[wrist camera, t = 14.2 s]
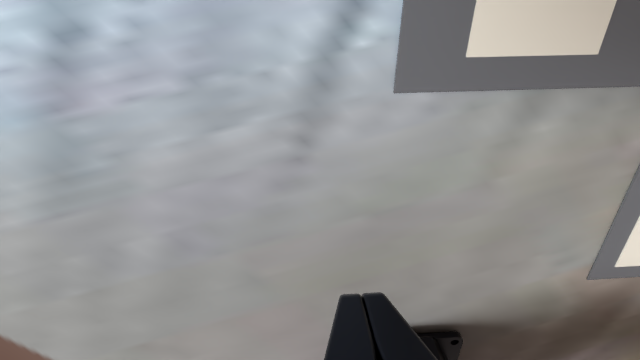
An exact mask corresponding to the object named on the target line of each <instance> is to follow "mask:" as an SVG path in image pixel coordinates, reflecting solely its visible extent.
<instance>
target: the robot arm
mask: <svg viewBox="0 0 640 360" xmlns="http://www.w3.org/2000/svg"><path fill="white" fill-rule="evenodd" d="M462 343H463V340H462V337H461V335H460V333H458V332H442V333H428V334H416V333H415V331H414V330H413V329H412V328H411V327H410V325H409V324H408V323H407V322H406V320H405V319H404V318H403V317H402V316H401V314H400V313H399V312H398V311H397V309H396V308H395V307H394V306H393V305H392V303H391V302H390V301H389V300H388V298H387V297H386V296H385V295H384V294H383V293H380V292H377V293H364V294H363V295H362V296H361V295H360V294H343V295H341V296H340V298H339V302H338V306H337V310H336V314H335V318H334V322H333V326H332V330H331V334H330V338H329V342H328V346H327V350H326V354H325V358H324V360H458V356H459V353H460V349H461V346H462Z"/></svg>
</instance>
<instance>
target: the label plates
mask: <svg viewBox="0 0 640 360" xmlns="http://www.w3.org/2000/svg"><path fill="white" fill-rule="evenodd" d="M634 86H640V0H403V8H402V18H401V27H400V36H399V46H398V55H397V64H396V73H395V83H394V93H417V92H453V91H489V90H525V89H561V88H597V87H634ZM627 277H640V165H639V167H638V169H637V171H636V174H635V176H634V178H633V180H632V182H631V184H630V186H629V189H628V191H627V193H626V195H625V197H624V199H623V202H622V204H621V206H620V208H619V210H618V212H617V214H616V217H615V219H614V221H613V223H612V225H611V227H610V230H609V232H608V234H607V236H606V238H605V240H604V243H603V245H602V247H601V249H600V251H599V253H598V255H597V258H596V260H595V262H594V264H593V266H592V268H591V271H590V273H589V275H588V277H587V280H594V279H611V278H627Z"/></svg>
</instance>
